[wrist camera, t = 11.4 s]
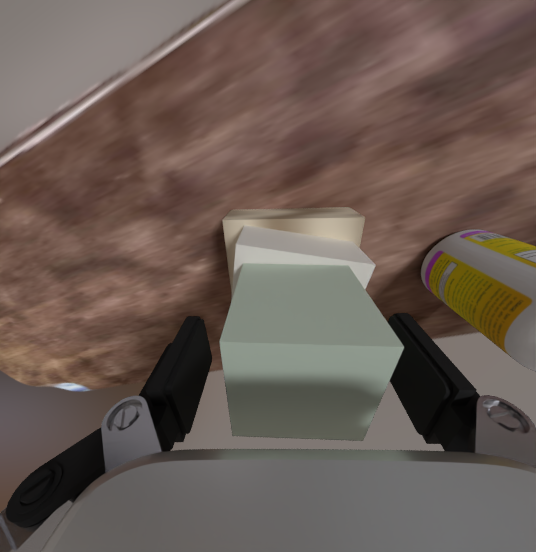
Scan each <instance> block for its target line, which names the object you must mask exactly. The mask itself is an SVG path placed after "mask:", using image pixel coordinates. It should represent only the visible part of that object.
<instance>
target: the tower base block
mask: <svg viewBox="0 0 536 552" xmlns="http://www.w3.org/2000/svg"><path fill="white" fill-rule="evenodd" d="M222 221H223V229H224V237H225V245H226V253H227V261H228V269H229V277H230V285H231V293H232V286H233V274H234V261H235V249H236V243H237V241H238V238H239V236H240V234H241V232H242V230H243V227H244V225H248V226H255V227H261V228H268V229H274V230H281V231H287V232H294V233H300V234H307V235H313V236H320V237H326V238H333V239H339V240H346V241H352V242H354V243H355V244H356V245H357V246H358V247H359V248H360V243H361V237H362V232H363V227H364V221H365V217H364V216H362V215H361V214H359V213H357V212H356V211H354V210H353V209H351V208H349V207H343V208H296V209H249V210H231V211H230V212H229V213H228V214H227V215H226V217H225V218H224V219H223V220H222Z"/></svg>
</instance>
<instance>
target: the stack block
mask: <svg viewBox="0 0 536 552" xmlns="http://www.w3.org/2000/svg"><path fill="white" fill-rule="evenodd" d="M403 349H404V346H403V344H402V343H401V341H400V340H399V339H398V337H397V336H396V334H395V333H394V331H393V330H392V328H391V327H390V325H389V324H388V322H387V321H386V320H385V318H384V317H383V315H382V314H381V312H380V311H379V309H378V308H377V306H376V305H375V303H374V302H373V301H372V299H371V298H370V296H369V295H368V293H367V292H366V290H365V289H364V287H363V286H362V284H361V283H360V282H359V280H358V279H357V277H356V276H355V274H354V273H353V271H352V270H351V268H350V267H349V265H300V264H251V263H243V266H242V269H241V272H240V276H239V279H238V282H237V286H236V289H235V292H234V295H233V299H232V302H231V305H230V309H229V312H228V315H227V319H226V322H225V325H224V328H223V332H222V335H221V338H220V350H221V357H222V364H223V371H224V378H225V386H226V392H227V400H228V407H229V414H230V422H231V429H232V436H247V437H274V438H301V439H326V440H327V439H328V440H353V441H363V439H364V437H365V435H366V433H367V431H368V428H369V426H370V424H371V422H372V419H373V417H374V415H375V412H376V410H377V408H378V406H379V403H380V401H381V399H382V396H383V394H384V392H385V390H386V388H387V385H388V383H389V381H390V379H391V376H392V374H393V372H394V369H395V367H396V365H397V363H398V360H399V358H400V356H401V354H402V351H403Z"/></svg>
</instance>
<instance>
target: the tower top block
mask: <svg viewBox="0 0 536 552" xmlns="http://www.w3.org/2000/svg"><path fill="white" fill-rule="evenodd" d="M243 263H251V264H300V265H349V267H350V268H351V270H352V271H353V273H354V274H355V276H356V277H357V279H358V280H359V282H360V283H361V284H362V286H363V287H364V289H366V287H367V284H368V282H369V280H370V277H371V275H372V273H373V270H374V268H375V266H376V265H375V264H374V263H373V262H372V261H371V260H370V259H369V258H368V257H367V255H366V254H365V253H364V252H363V251H362V250H361V249H360V248H359V247H358V246H357V245H356V244H355V243H354V242H352V241H346V240H339V239H333V238H326V237H320V236H313V235H307V234H300V233H294V232H287V231H281V230H274V229H268V228H261V227H255V226H248V225H244V227H243V230H242V232H241V234H240V236H239V238H238V241H237V243H236V249H235V261H234V274H233V286H232V298H231V302H232V299H233V295H234V292H235V289H236V286H237V282H238V279H239V276H240V272H241V269H242V266H243Z"/></svg>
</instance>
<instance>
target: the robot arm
mask: <svg viewBox="0 0 536 552" xmlns="http://www.w3.org/2000/svg"><path fill="white" fill-rule="evenodd" d="M388 324H389V325H390V327H391V328H392V330H393V331H394V333H395V334H396V336H397V337H398V339H399V340H400V341H401V343H402V344H403V346H404V349H403V351H402V354H401V356H400V358H399V360H398V363H397V365H396V367H395V369H394V372H393V374H392V376H391V379H390V382H391V384H392V385H393V387H394V389H395V391H396V393H397V395H398V397H399V399H400V401H401V403H402V405H403V406H404V408H405V410H406V412H407V414H408V416H409V418H410V420H411V421H412V423H413V425H414V427H415V429H416V431H417V432H418V433H419V434H420V435H422V436H423V438H424V439H425V441H426V443H427V444H441V445H442V447H443V449H444V450H445V451H412V450H411V451H410V450H409V451H408V450H329V449H328V450H326V449H324V450H323V449H318V450H317V449H200V450H199V449H198V450H176V451H170V450H171V449H172V448H173V445H174V442H183V441H184V438H185V435H186V434H188V433H190V430H191V428H192V424H193V421H194V418H195V415H196V411H197V408H198V405H199V402H200V398H201V395H202V392H203V389H204V385H205V382H206V379H207V376H208V372H209V369H210V366H211V362H212V354H211V350H210V346H209V341H208V337H207V332H206V328H205V324H204V320H203V319H200V317H199V316H188V317H187V318H186V319H185V321H184V323H183V325H182V326H181V328H180V330H179V332H178V334H177V335H176V337H175V339H174V341H173V343H170V344H168V346H167V347H166V349H165V351H164V352H163V354H162V356H161V357H160V359H159V361H158V363H157V364H156V366H155V368H154V370H153V371H152V373H151V375H150V377H149V378H148V380H147V382H146V384H145V386H144V387H143V389H142V391H141V393H140V394H139V396H131V397H127V398H125V399H123V400H121V401H120V402H118V403H117V404H115V405H114V406H113V407H112V408H111V409H110V410H109V411H108V413H107V414H106V415H105V417H104V419H103V421H102V427H101V428H99V429H97V430H96V431H94V432H93V433H91V434H90V435H88V436H87V437H85V438H84V439H82V440H81V441H79V442H77V443H76V444H74V445H73V446H71V447H70V448H68V449H67V450H65V451H64V452H62V453H61V454H59V455H57V456H56V457H55V458H53V459H51V460H50V461H48V462H47V463H45V464H44V465H42V466H40V467H39V468H38V469H36V470H35V471H34V472H32V473H31V474H30V475H29V476H28V477H27V478H26V479H25V480H24V481H23V482H22V483H21V484H20V485H19V487H18V488H17V489H16V490H15V492H14V493H13V495H12V497H11V499H10V500H9V502H8V505H7V507H6V508H5V509H4V510H3V511H2V512H1V513H0V552H536V427H535V425H534V423H533V422H532V421H531V419H530V418H529V417H528V416H527V415H526V414H525V413H524V412H523V411H521V410H520V409H519V408H517V407H516V406H514V405H513V404H511V403H509V402H508V401H506V400H504V399H501V398H498V397H495V396H490V395H484V396H479V394H478V393H477V392H476V389H475V388H474V387H473V385H472V384H471V383H470V382H469V381H468V380H467V379H466V378H465V376H464V375H463V374H462V373H461V372H460V371H459V370H458V368H457V367H456V366H455V365H454V364H453V363H452V362H451V361H450V359H449V358H448V357H447V356H446V355H445V354H444V353H443V352H442V351H441V349H440V348H439V347H438V346H437V345H436V344H435V343H434V341H433V340H432V339H431V338H430V337H429V336H428V335H427V334H426V332H425V331H424V330H423V329H422V328H421V327H420V326H419V325H418V323H417V322H416V321H415V320H414V319H413V318H412V317H411V316H410V315H409V314H408V313H395V314H394V315H393V316H391V317H390V318H389V321H388Z"/></svg>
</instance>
